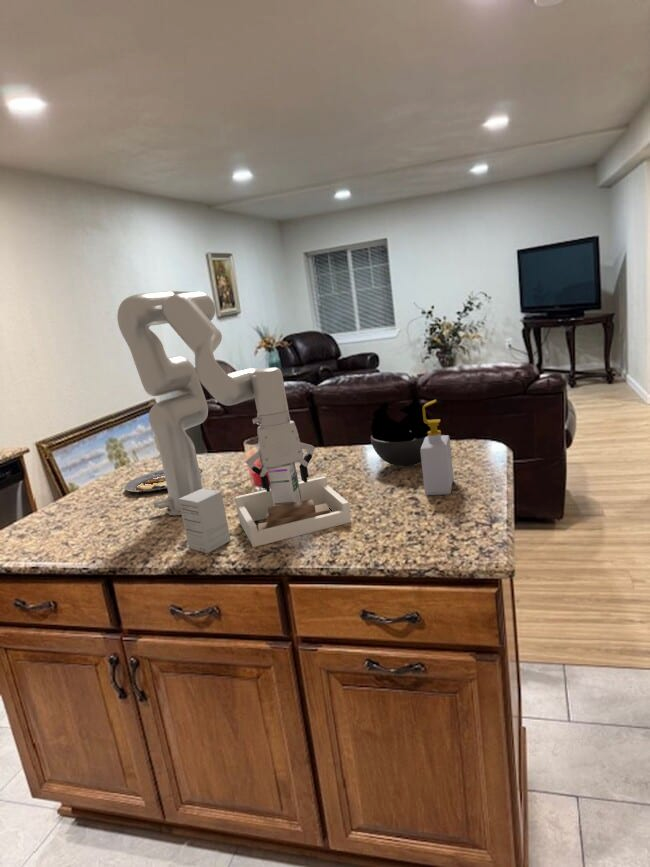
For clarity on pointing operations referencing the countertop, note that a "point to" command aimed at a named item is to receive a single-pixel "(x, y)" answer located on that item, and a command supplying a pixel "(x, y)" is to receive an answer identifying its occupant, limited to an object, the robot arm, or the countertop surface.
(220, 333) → the robot arm
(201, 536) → the supplement box
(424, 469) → the soap bottle
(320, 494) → the tray
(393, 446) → the coal bowl
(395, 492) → the countertop surface
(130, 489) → the food plate
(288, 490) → the syrup box
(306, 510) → the offcut pile
